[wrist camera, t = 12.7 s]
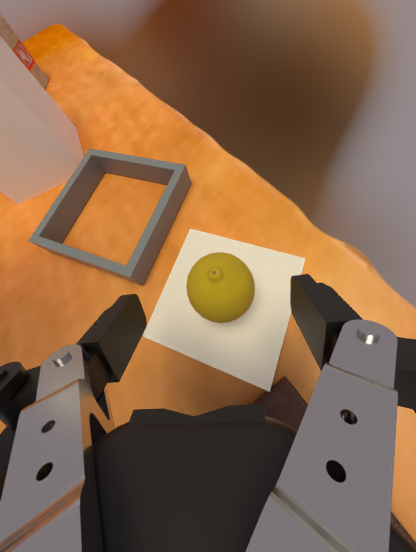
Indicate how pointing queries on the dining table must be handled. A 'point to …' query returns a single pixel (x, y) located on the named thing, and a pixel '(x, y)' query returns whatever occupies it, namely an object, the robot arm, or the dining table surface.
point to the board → (236, 334)
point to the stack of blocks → (21, 52)
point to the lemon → (220, 287)
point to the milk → (32, 134)
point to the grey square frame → (82, 188)
